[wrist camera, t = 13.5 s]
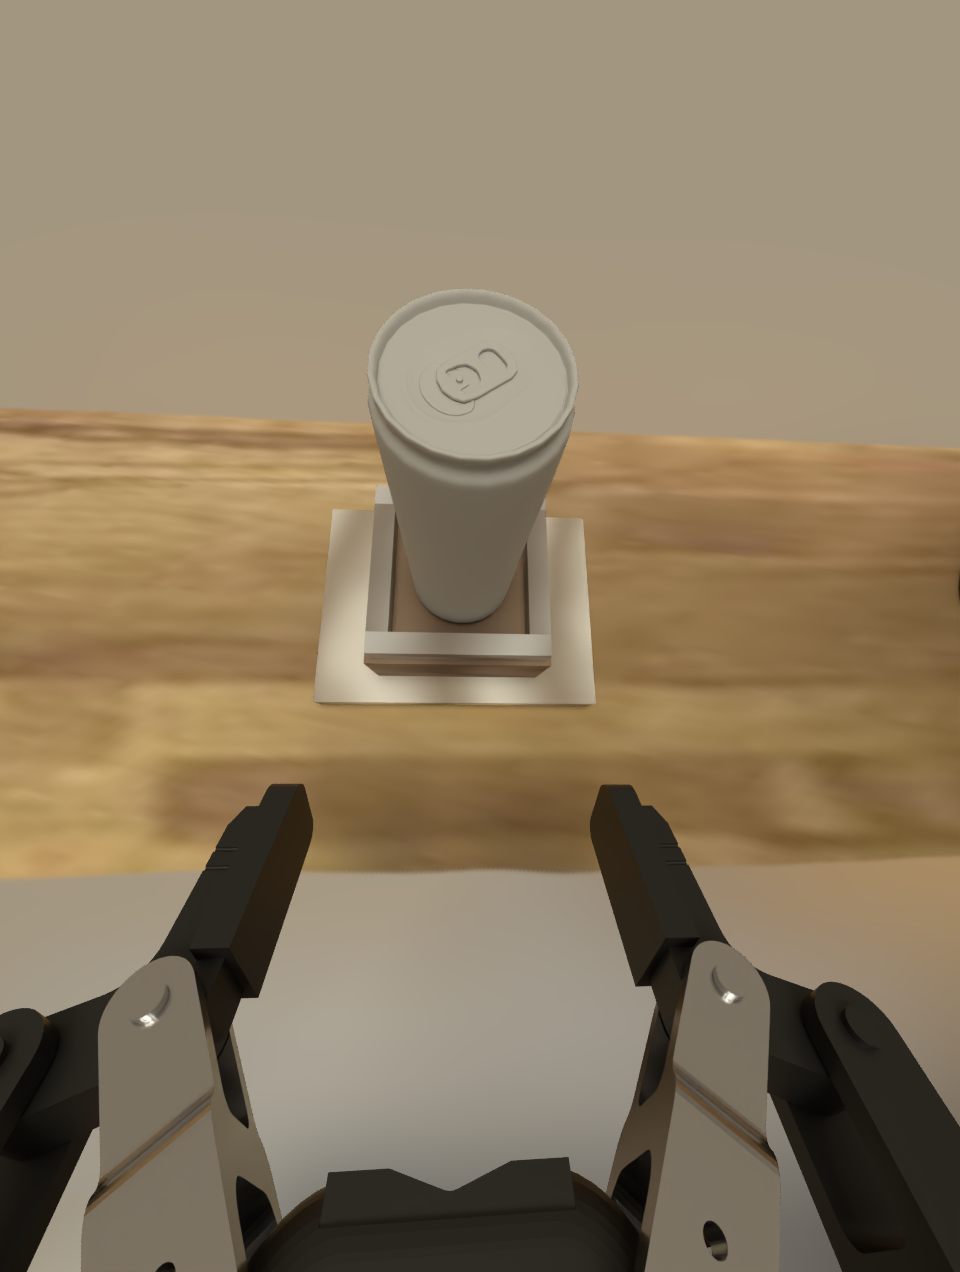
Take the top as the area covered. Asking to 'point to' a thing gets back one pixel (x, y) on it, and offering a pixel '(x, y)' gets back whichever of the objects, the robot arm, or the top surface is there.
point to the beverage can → (469, 437)
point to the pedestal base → (352, 628)
